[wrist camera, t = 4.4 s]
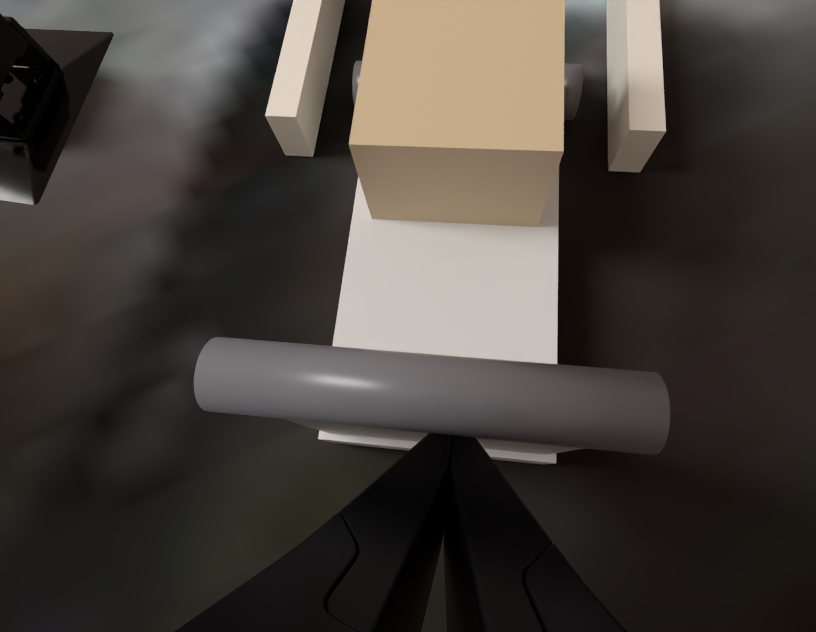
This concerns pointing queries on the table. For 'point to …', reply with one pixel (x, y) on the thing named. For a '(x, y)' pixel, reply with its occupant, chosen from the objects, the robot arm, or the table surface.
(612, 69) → the bay
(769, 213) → the table surface
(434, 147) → the trolley
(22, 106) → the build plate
